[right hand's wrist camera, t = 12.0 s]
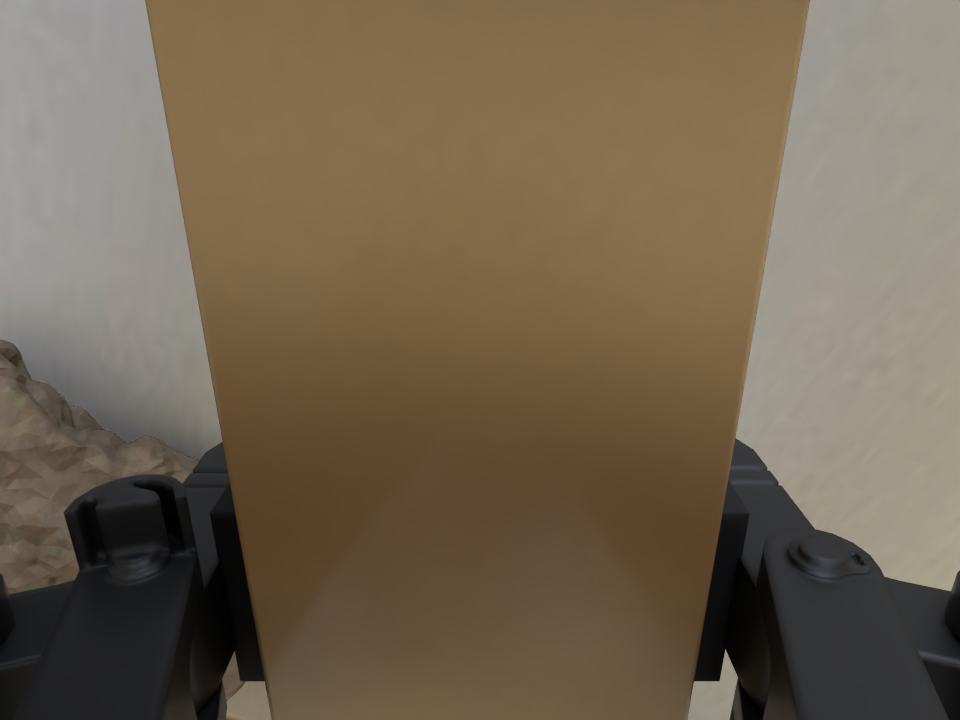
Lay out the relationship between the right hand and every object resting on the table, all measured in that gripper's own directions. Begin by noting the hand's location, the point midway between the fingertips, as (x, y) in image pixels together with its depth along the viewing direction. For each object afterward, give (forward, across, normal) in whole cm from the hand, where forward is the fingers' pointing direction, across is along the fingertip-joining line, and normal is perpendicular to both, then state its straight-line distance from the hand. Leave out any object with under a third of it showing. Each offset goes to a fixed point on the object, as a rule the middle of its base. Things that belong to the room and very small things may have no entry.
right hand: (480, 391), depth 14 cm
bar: (0, 0, -20) cm, 20 cm away
